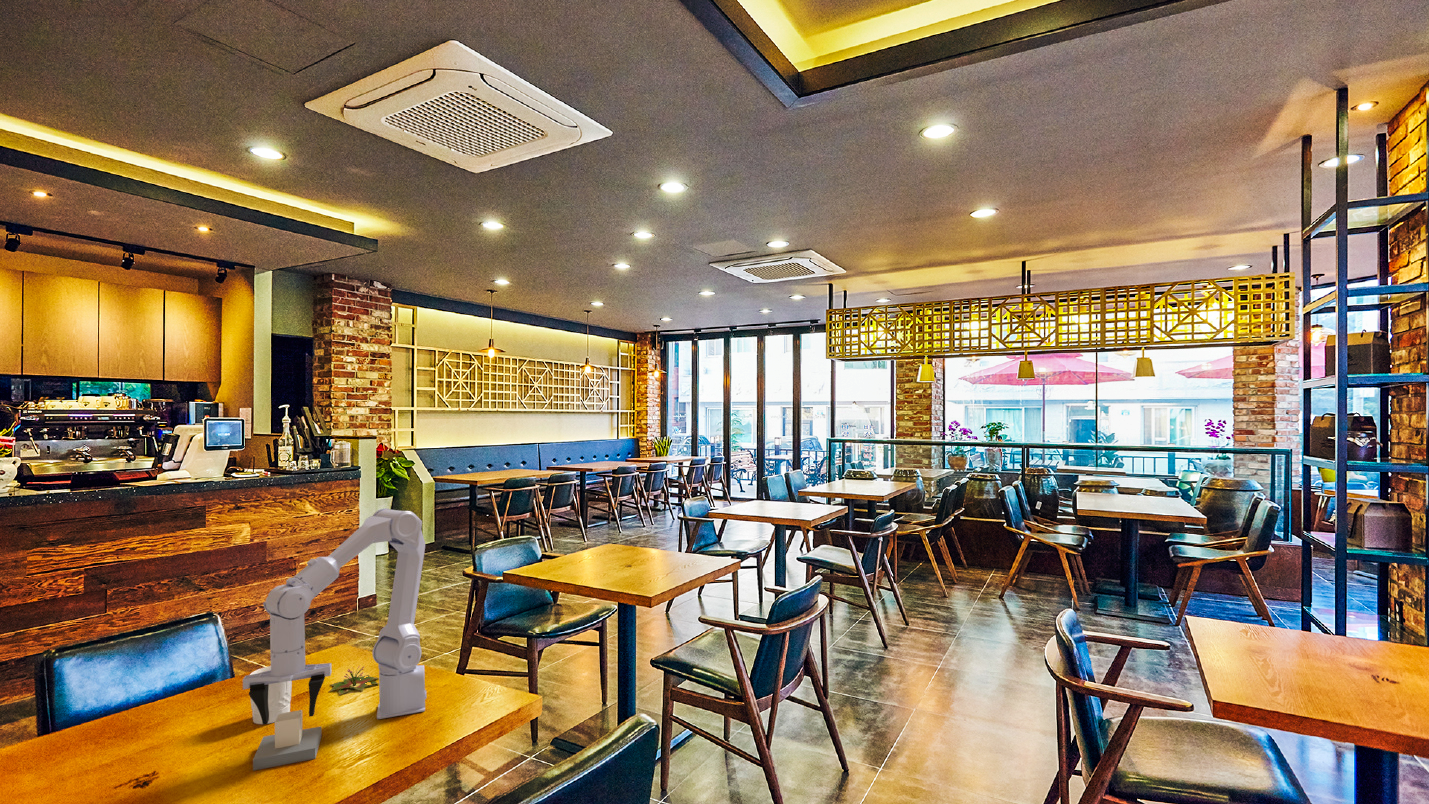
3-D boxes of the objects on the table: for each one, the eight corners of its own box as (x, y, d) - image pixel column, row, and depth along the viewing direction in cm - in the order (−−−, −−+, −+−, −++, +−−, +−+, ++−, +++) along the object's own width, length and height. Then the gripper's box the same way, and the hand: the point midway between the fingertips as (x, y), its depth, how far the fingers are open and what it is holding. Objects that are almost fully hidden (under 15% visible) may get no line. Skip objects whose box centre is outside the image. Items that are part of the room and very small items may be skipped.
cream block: (302, 735, 136) (302, 709, 136) (299, 744, 133) (299, 718, 133) (278, 739, 135) (278, 713, 135) (275, 748, 131) (274, 722, 131)
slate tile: (321, 736, 140) (321, 726, 140) (315, 758, 131) (315, 748, 131) (263, 746, 136) (263, 736, 136) (253, 770, 127) (252, 759, 127)
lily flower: (320, 687, 167) (320, 668, 167) (373, 674, 175) (373, 655, 175) (334, 702, 158) (333, 682, 158) (389, 687, 166) (388, 667, 166)
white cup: (271, 727, 145) (271, 679, 145) (240, 724, 146) (239, 677, 146) (301, 711, 152) (300, 665, 152) (271, 708, 154) (270, 663, 154)
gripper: (238, 661, 127) (239, 735, 127) (328, 648, 133) (329, 719, 133) (246, 649, 134) (248, 719, 133) (332, 637, 139) (333, 704, 139)
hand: (289, 718), depth 134 cm, fingers open, 7 cm apart
